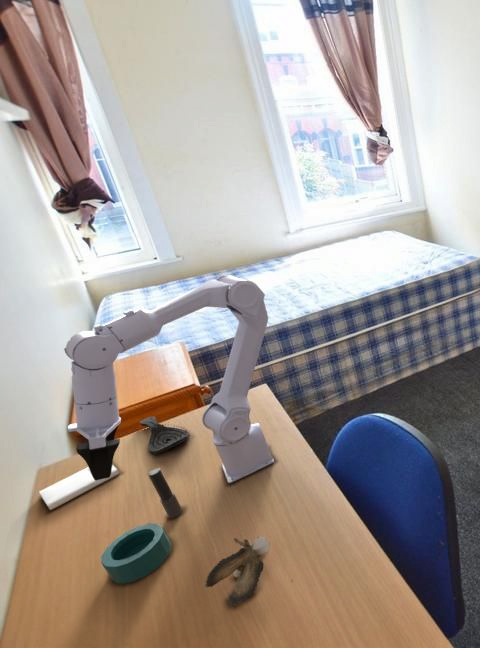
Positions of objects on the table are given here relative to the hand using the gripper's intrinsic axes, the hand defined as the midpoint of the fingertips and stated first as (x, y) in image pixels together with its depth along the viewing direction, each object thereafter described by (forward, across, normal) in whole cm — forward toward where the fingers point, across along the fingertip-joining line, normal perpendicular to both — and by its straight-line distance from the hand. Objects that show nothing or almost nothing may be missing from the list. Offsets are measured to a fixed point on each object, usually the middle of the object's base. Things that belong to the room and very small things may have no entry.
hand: (103, 468), depth 86 cm
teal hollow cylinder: (+16, +8, +4) cm, 18 cm away
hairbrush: (+12, -36, +10) cm, 39 cm away
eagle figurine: (+13, +26, +18) cm, 35 cm away
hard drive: (+16, -28, -6) cm, 33 cm away
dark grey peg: (+14, -1, +10) cm, 17 cm away
